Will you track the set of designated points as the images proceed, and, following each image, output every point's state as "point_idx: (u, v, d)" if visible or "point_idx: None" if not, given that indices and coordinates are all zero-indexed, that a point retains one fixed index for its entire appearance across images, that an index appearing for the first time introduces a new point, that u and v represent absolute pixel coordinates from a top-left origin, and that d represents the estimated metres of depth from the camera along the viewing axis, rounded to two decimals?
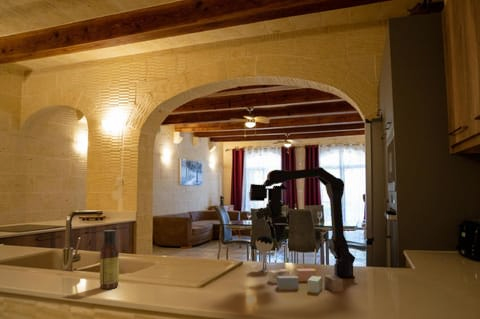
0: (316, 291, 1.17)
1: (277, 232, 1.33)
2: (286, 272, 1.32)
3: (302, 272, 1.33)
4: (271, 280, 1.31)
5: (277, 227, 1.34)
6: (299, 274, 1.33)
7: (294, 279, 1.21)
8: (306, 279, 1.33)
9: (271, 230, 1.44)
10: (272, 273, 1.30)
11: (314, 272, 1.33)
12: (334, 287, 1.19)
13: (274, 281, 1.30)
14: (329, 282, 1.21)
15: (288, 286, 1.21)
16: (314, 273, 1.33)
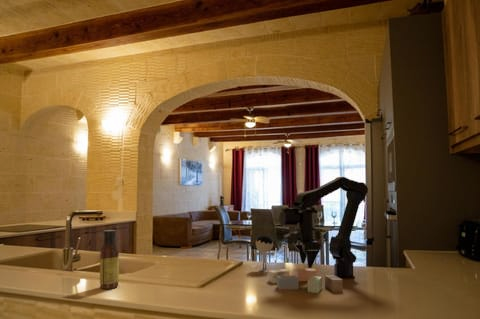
0: (316, 291, 1.17)
1: (309, 258, 1.30)
2: (286, 272, 1.32)
3: (302, 272, 1.33)
4: (271, 280, 1.31)
5: (309, 253, 1.30)
6: (299, 274, 1.33)
7: (294, 279, 1.21)
8: (306, 279, 1.33)
9: (300, 254, 1.40)
10: (272, 273, 1.30)
11: (314, 272, 1.33)
12: (334, 287, 1.19)
13: (274, 281, 1.30)
14: (329, 282, 1.21)
15: (288, 286, 1.21)
16: (314, 273, 1.33)
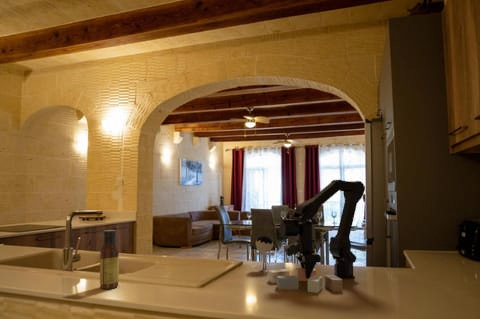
0: (316, 291, 1.17)
1: (307, 269, 1.32)
2: (286, 272, 1.32)
3: (302, 271, 1.33)
4: (271, 280, 1.31)
5: (307, 264, 1.32)
6: (298, 273, 1.33)
7: (294, 279, 1.21)
8: (306, 279, 1.33)
9: (302, 267, 1.37)
10: (272, 273, 1.30)
11: (314, 272, 1.33)
12: (333, 287, 1.19)
13: (273, 281, 1.30)
14: (329, 282, 1.22)
15: (288, 286, 1.21)
16: (314, 273, 1.33)
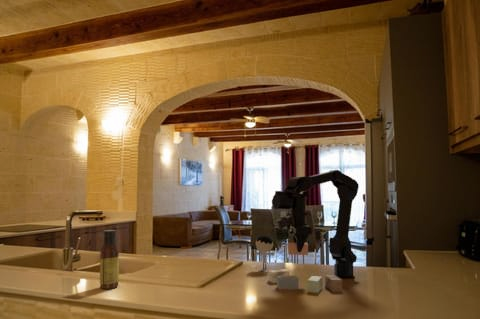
0: (316, 291, 1.17)
1: (299, 242, 1.28)
2: (286, 272, 1.32)
3: (293, 245, 1.30)
4: (270, 280, 1.31)
5: (299, 237, 1.28)
6: (290, 247, 1.30)
7: (294, 279, 1.21)
8: (297, 252, 1.29)
9: (294, 241, 1.33)
10: (271, 273, 1.30)
11: (306, 245, 1.30)
12: (333, 287, 1.19)
13: (273, 281, 1.30)
14: (329, 282, 1.22)
15: (288, 286, 1.21)
16: (306, 246, 1.30)
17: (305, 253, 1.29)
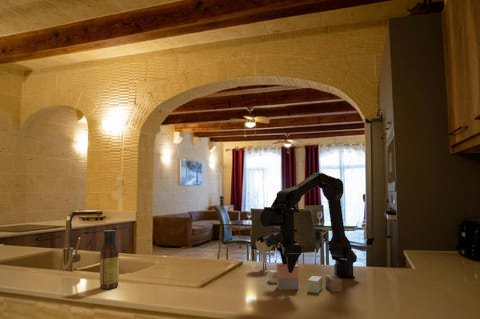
0: (316, 291, 1.17)
1: (290, 262, 1.18)
2: None
3: (283, 268, 1.21)
4: (270, 280, 1.31)
5: (290, 256, 1.18)
6: (279, 270, 1.21)
7: (294, 279, 1.21)
8: (287, 275, 1.21)
9: (282, 258, 1.28)
10: (271, 273, 1.31)
11: (296, 268, 1.22)
12: (332, 287, 1.19)
13: (273, 281, 1.30)
14: (329, 282, 1.22)
15: (287, 286, 1.21)
16: (296, 269, 1.22)
17: (295, 276, 1.21)
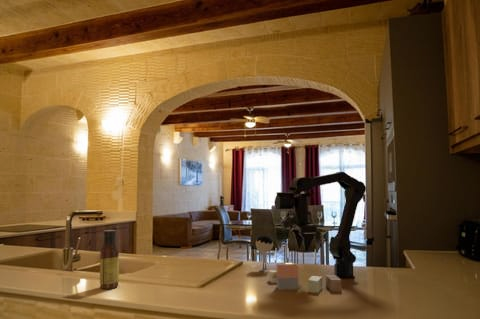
0: (316, 291, 1.17)
1: (306, 241, 1.31)
2: None
3: (283, 268, 1.21)
4: (270, 279, 1.31)
5: (306, 236, 1.31)
6: (279, 270, 1.21)
7: (294, 279, 1.21)
8: (287, 275, 1.21)
9: (296, 238, 1.41)
10: (271, 273, 1.31)
11: (296, 268, 1.22)
12: (332, 287, 1.19)
13: (273, 281, 1.30)
14: (328, 282, 1.22)
15: (287, 286, 1.21)
16: (296, 269, 1.22)
17: (295, 276, 1.21)
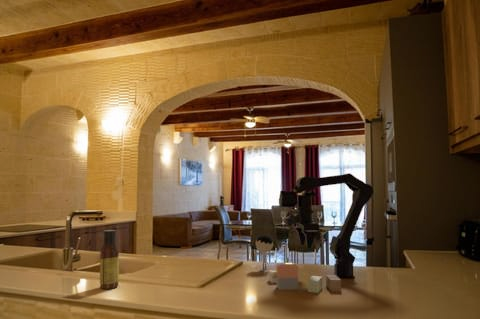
0: (316, 291, 1.17)
1: (308, 239, 1.34)
2: None
3: (282, 268, 1.21)
4: (270, 279, 1.31)
5: (308, 234, 1.34)
6: (279, 270, 1.21)
7: (294, 279, 1.21)
8: (287, 275, 1.21)
9: (300, 236, 1.45)
10: (271, 273, 1.31)
11: (296, 268, 1.22)
12: (332, 287, 1.19)
13: (272, 281, 1.30)
14: (328, 282, 1.22)
15: (287, 286, 1.21)
16: (296, 269, 1.22)
17: (295, 276, 1.21)
